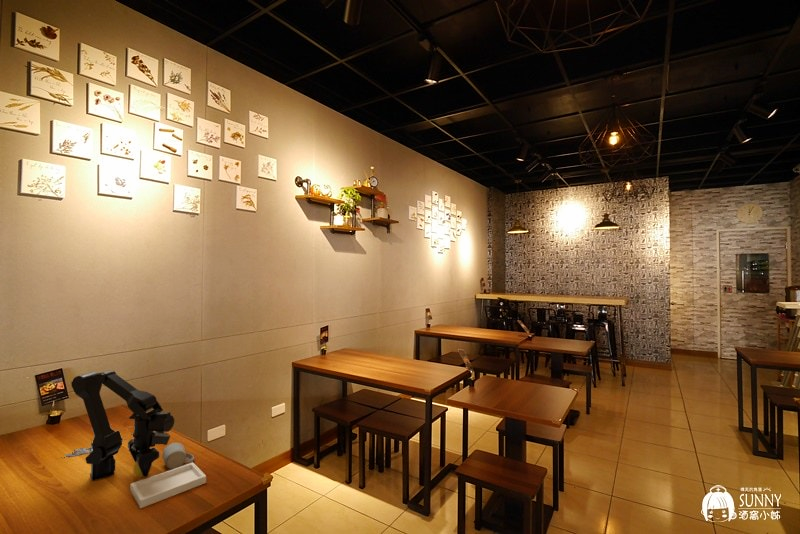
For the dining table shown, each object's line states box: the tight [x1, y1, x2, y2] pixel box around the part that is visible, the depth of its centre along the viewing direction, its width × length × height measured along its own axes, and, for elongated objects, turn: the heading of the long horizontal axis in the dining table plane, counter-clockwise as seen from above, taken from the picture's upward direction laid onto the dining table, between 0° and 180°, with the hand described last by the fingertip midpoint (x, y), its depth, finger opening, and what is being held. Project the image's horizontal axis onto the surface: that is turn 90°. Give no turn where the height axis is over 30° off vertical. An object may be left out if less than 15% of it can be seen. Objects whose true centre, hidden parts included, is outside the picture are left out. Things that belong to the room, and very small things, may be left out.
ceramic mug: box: [162, 442, 195, 470], centre depth 145 cm, size 11×8×8 cm
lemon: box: [133, 461, 152, 479], centre depth 136 cm, size 6×6×8 cm
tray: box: [130, 461, 207, 509], centre depth 130 cm, size 20×14×2 cm
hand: (142, 471), depth 136 cm, fingers open, 9 cm apart
